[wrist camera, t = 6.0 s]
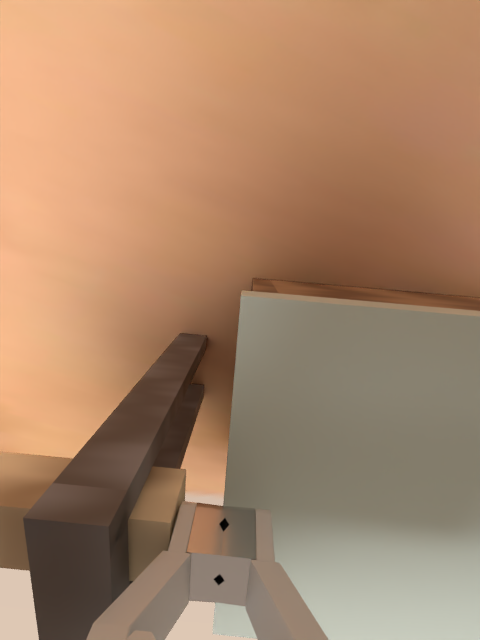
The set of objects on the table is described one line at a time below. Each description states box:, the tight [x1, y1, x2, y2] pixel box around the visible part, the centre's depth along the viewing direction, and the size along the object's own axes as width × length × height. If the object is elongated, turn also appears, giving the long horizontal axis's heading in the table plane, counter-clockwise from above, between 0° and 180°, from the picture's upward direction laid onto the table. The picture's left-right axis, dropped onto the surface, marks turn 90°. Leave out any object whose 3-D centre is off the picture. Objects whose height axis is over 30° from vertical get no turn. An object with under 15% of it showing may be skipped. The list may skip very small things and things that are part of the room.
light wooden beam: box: [0, 452, 186, 581], centre depth 9 cm, size 8×2×2 cm, turn 85°
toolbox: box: [23, 278, 480, 640], centre depth 14 cm, size 29×14×15 cm, turn 85°
